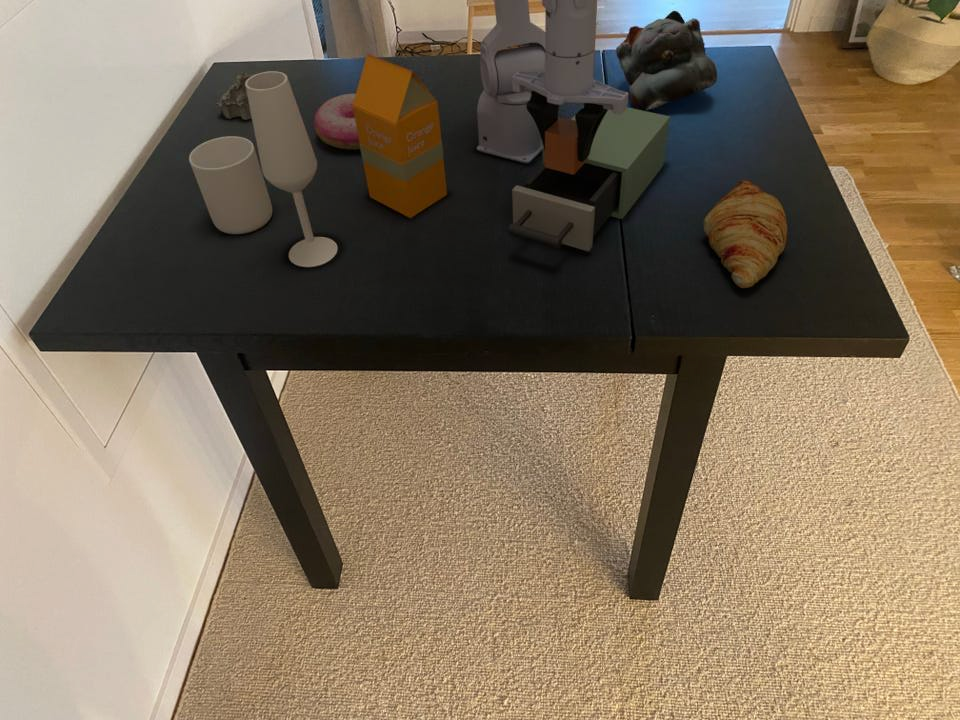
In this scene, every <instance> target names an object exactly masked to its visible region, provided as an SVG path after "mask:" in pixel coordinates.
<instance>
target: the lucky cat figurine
mask: <svg viewBox="0 0 960 720" xmlns="http://www.w3.org/2000/svg"><path fill="white" fill-rule="evenodd" d="M700 24H701V23H700V21H699V19H697V18H691V19H689V20H687V21H685V20H684V18H683V17H682V15H681V13H680V12H679V11H678V10H672V11H671V12H670V13H669V14H667V15H666V16H665V17H664V18H658V19H655V20H654V21H653V22H650V23H648V24H646V25H645V26H644V27H639V26H638V25H634V26H630V27H629V29H628V34H627V35H626V38H625V39H624V40H623V41H622V42H621V43H620V44H619V45H618V46H617V47H616V48H615V52H616V57H617V59H618V61H619V65H620V69H621V70H622V72H623V75H624V78H625V80H626V82H627V86H628V89H629V92H630V97H629V98H630V102H631V104H632V106H633V107H635V109H637V110H642V111H647V112H648V111H651V110H654V109H657V108H660V107H662V106H664V105H666V104H667V105H668V104H670V103H672V102H674V101H678V100H680V99H683V98H686V97H692V96H694V95H695V94H698V93H700V92H701V91H704V90H707V89H709V88H711V87H713V86H714V85H715V84H716V83H717V82H718V70H717V67H716V64H715V62H714V61H713V60H712V59H711V58H709V57H708V56H707V54H706V47H705V42H704V38H703V35H702V32H701V25H700Z"/></svg>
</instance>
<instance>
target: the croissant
mask: <svg viewBox="0 0 960 720" xmlns="http://www.w3.org/2000/svg"><path fill="white" fill-rule="evenodd" d="M702 223H703V224H702V225H703V232H704V233H705V235H706V236H707V238H708V243H709V246H710V248H711V249H712V250H713V251H714V252H715V253H716V254H717V256H718V258H720V260H721V261H720V263H721V264H722V266H723V267H724V268H725V269H727V270H728V272H729V273H730V275H731V279H732V281H733V282H734V284H735V285H736V286H738V287H739V288H741V289H747V288H751V287H753V286H754V285H755V284H757V283H758V282H759V281H760V280H762V279H763V278H765V277H766V276H767V275H768V274H769V272H770V271H771V270H772V269H773V268H774V267H775V266H776V264H777V262H778V258H779V256H780V255H781V254H783V252H784V250H785V248H786V243H787V235H788V223H787V217H786V213H785V210H784V207H783V205H782V203H781V202H780V201H779V199H777V198H776V197H775V196H774V195H772V194H769V193H768V192H766V191H764V190H762V189H761V188H760V187H759V186H757V185H756V184H754V183H753V182H752V180H747V179H746V180H745V179H742V180H740V181H738V182H737V183H736V186H735V187H734V188H732V190H730V191H729V192H728V193H726V195H724V196H723V197H722V198H721V199H720V200H719V201H718V202H717V203H715V205H714V207H713V208H712V209H711V210H710V211H709V212H708V213H707V214H706V216H704V219H703V221H702Z"/></svg>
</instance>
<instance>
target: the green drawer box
mask: <svg viewBox="0 0 960 720" xmlns="http://www.w3.org/2000/svg"><path fill="white" fill-rule="evenodd" d="M570 120H575V121H576V119H575V115H573V116H572V117H571V118H570ZM670 122H671V116H669V115H665V114H661V113H655V112H651V111H648V110H647V111H642V110H640V109H638V108H632V107H628V106H627V109H626V110H625V111H624V112H623V113H622V114H621V115H618V114H614V113H613V110H609V109H608V111H607V113H606V114H605V116H604V118H603V120H602V122H601V124H600V126H599V128H598V130H597V132H596V135H595V137H594V140H593V143H592V146H591V150H590V155H589V156H588V160H587V161H586V162H585V163H587V164H591V165H595V166H599V167H603V168H607V169H611V170H615V171H619V172H622V179H621V189H620V200H619V205H618V207H617V208H616V209H615V211H614V212H613V213H612V214H611V216H610V217H612V218H616V219H619V220H623V219H624V218H625V217H626V216H627V214H628V213H629V211H630V210H631V209H632V208H633V206H634V205H635V203H637V201H638V199H639V198H640V197H641V196H642V194H643V193H644V192H645V191H646V189H647V188H648V187H649V185H650V184H651V183H652V181H653V180H654V178H655V177H656V176H657V175H658V173H660V171H661V169H662V168H663V167H664V165H665V159H666V158H665V157H666V151H667V143H668V136H669V128H670ZM544 163H545V151H544V147H543V150H542V165H543V164H544Z"/></svg>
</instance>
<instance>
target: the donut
mask: <svg viewBox="0 0 960 720" xmlns="http://www.w3.org/2000/svg"><path fill="white" fill-rule="evenodd" d="M355 96H356V92H355V93H346V94H345V93H344V94H340V95H337V96H334V97H333V98H332V97H331V98H330V99H328V100H327V101H325V102H324V103H323V104H322V105H321V106H320V107H319V108H318V109H317V110H316V113H315V115H314V119H313V126H314V130H315V134H316V135H317V136H318V137H319V139H320V140H321V141H322V142H323V143H325V144H326V145H328V146H331V147H333V148H337V149H339V150H340V149H341V150H348V151H349V150H350V151H353V150H354V151H355V150H356V151H358V150H360V143H359V137H358V132H357V127H356V122H355V116H354V111H353V107H352V104H353V103H354V99H355Z"/></svg>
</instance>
